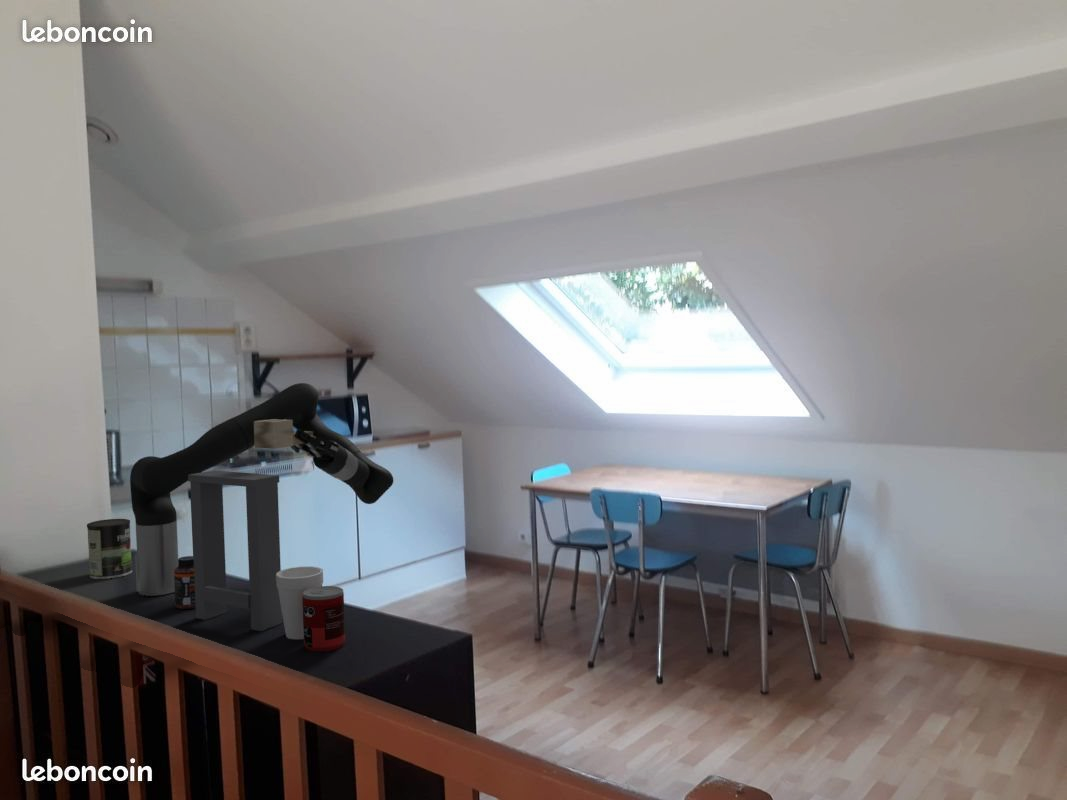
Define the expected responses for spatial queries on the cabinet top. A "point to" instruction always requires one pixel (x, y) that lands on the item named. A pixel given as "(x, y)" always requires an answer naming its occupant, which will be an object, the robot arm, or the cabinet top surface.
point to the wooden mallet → (275, 434)
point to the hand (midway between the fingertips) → (291, 432)
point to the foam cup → (296, 595)
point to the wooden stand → (260, 546)
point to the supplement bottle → (184, 583)
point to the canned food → (323, 618)
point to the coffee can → (109, 548)
